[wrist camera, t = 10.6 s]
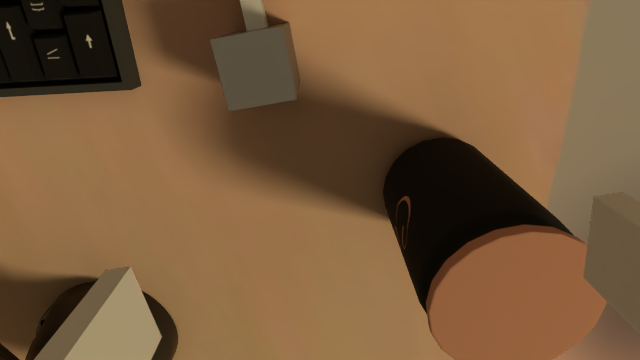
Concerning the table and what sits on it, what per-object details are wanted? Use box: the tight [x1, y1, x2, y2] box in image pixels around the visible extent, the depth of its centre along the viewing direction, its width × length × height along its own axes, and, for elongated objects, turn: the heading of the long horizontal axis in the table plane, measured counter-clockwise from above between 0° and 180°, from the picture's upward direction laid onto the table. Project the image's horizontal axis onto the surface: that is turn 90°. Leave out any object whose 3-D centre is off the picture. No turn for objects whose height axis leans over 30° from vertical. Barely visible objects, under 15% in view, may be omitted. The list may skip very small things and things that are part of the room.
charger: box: [210, 0, 300, 111], centre depth 30 cm, size 5×9×8 cm, turn 10°
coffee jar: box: [383, 138, 607, 360], centre depth 31 cm, size 11×11×18 cm
